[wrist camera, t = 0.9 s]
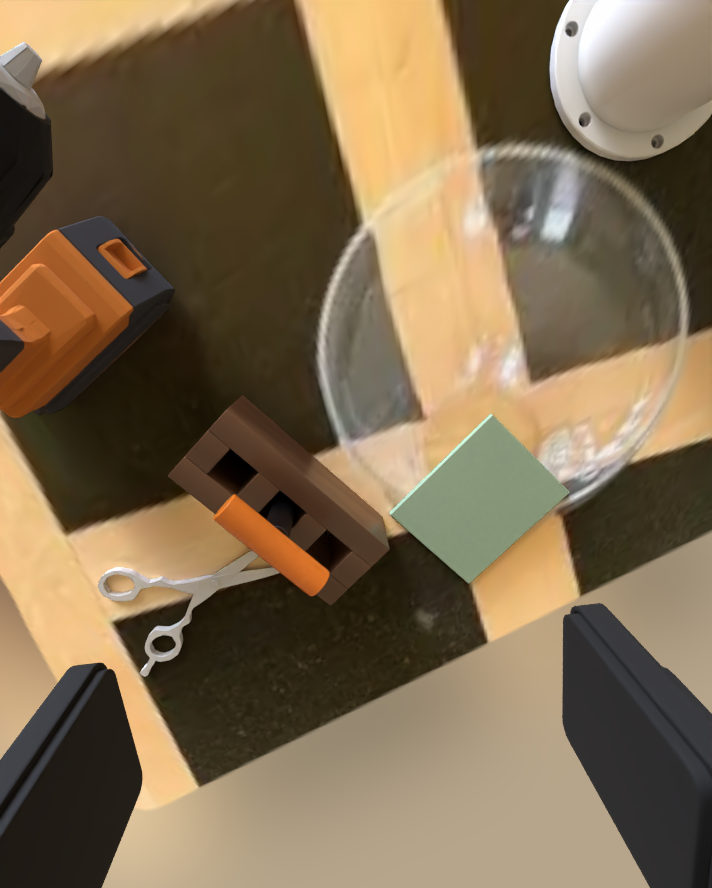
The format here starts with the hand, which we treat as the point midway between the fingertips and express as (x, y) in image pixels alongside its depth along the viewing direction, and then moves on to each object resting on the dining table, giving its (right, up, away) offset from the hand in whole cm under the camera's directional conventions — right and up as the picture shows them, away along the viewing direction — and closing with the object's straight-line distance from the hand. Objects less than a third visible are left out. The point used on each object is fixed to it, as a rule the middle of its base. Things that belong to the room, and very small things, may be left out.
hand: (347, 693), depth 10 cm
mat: (+11, 0, +32) cm, 34 cm away
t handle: (-6, +2, +31) cm, 32 cm away
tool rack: (-6, +2, +31) cm, 32 cm away
